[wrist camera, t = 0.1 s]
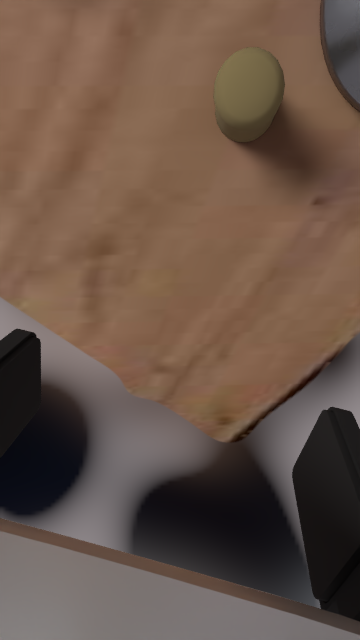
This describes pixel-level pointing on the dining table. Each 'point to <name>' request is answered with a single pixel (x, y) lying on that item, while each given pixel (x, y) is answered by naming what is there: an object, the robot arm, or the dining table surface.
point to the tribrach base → (342, 45)
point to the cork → (248, 93)
